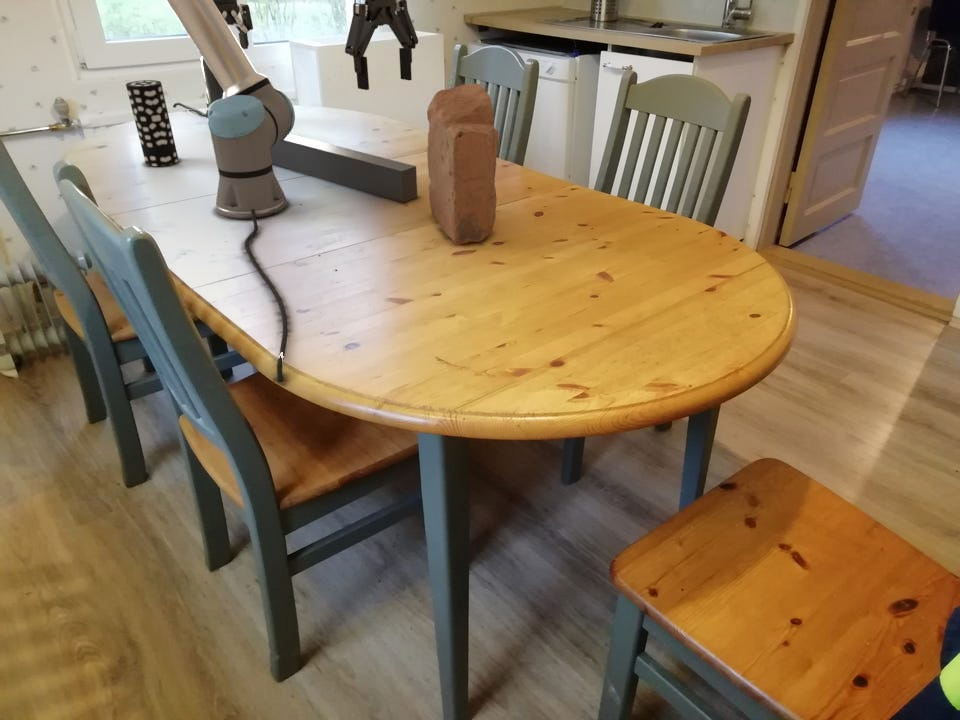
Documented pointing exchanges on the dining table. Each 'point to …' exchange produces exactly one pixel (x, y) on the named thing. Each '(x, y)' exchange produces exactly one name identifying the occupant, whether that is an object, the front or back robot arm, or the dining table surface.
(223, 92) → the back robot arm
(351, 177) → the post
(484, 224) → the stone
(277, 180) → the front robot arm
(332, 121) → the dining table surface
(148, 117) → the black white spotted cylinder
